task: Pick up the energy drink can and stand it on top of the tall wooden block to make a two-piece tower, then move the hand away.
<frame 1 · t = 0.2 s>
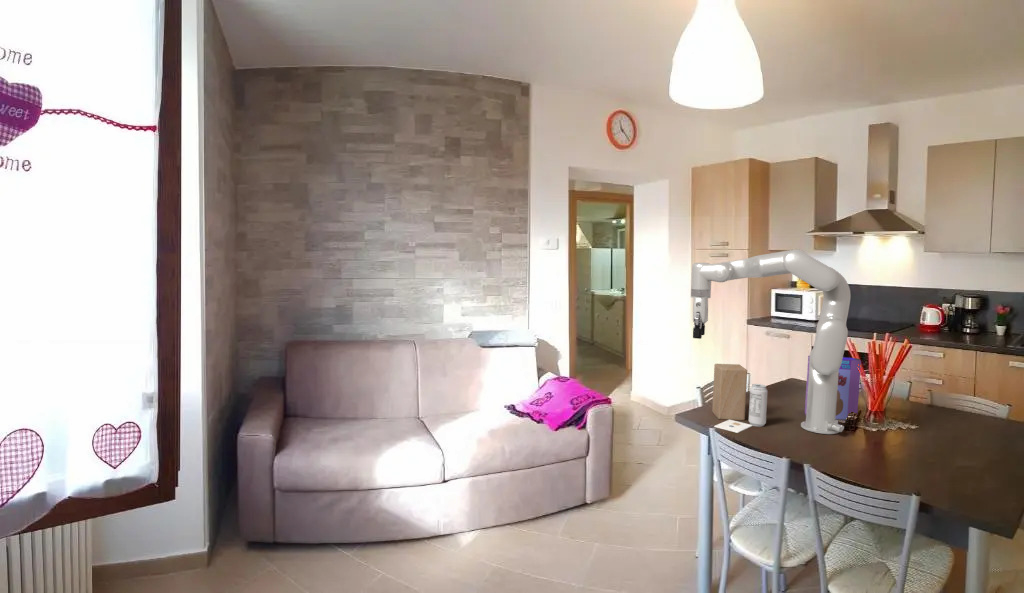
hand: (698, 336, 228), 31 cm above the table, tool pointing down, fingers open, 9 cm apart
energy drink can: (756, 424, 216), on the table
white printed card: (733, 426, 213), on the table
wooden block: (728, 416, 225), on the table
cereal box: (830, 417, 226), on the table
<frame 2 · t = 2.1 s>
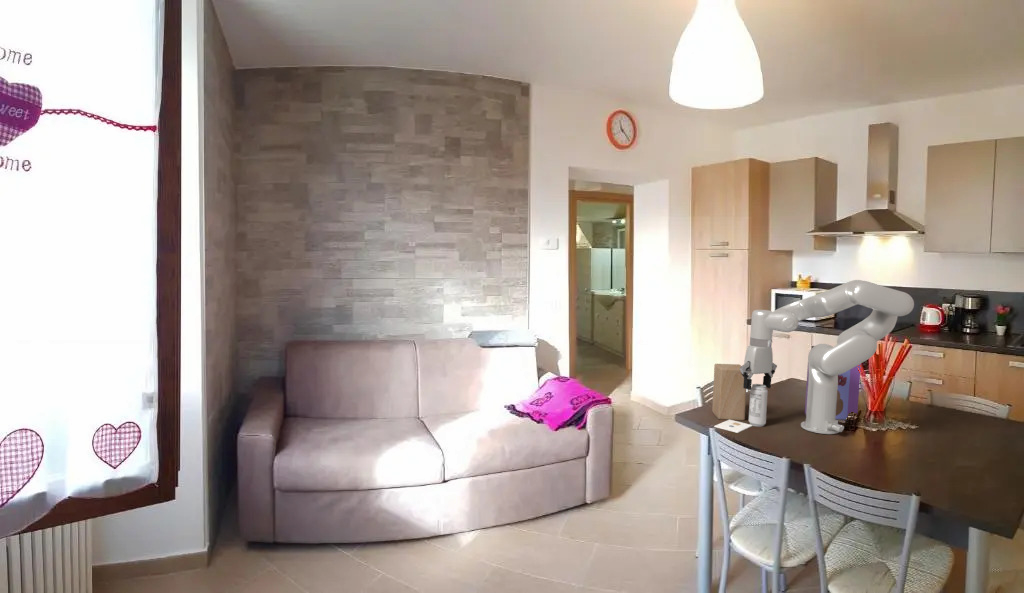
hand: (756, 388, 214), 14 cm above the table, tool pointing down, fingers open, 9 cm apart
nothing on the table moved.
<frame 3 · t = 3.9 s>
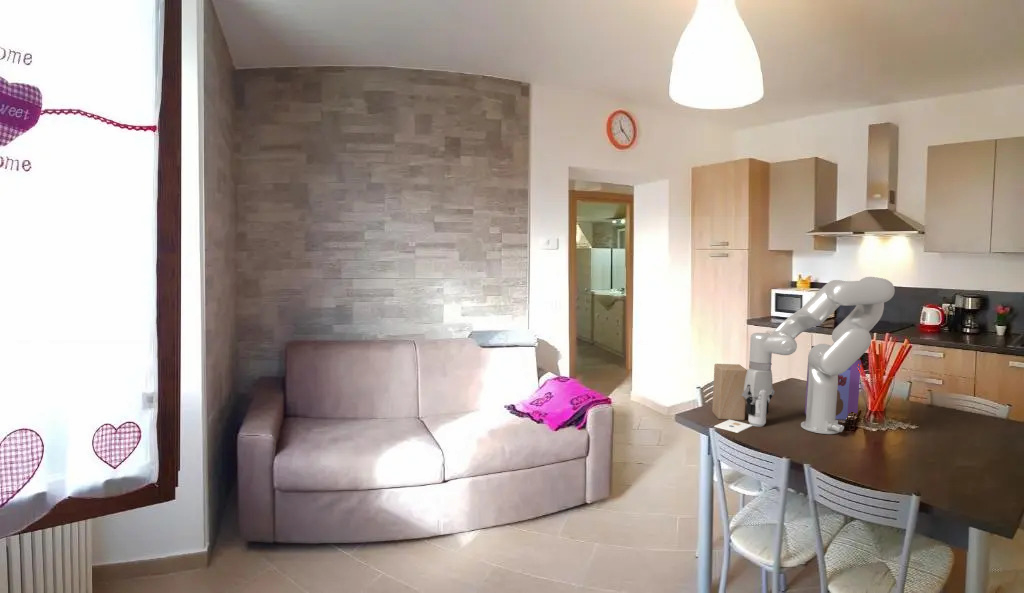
hand: (757, 412, 215), 5 cm above the table, tool pointing down, fingers closed on energy drink can, 6 cm apart
energy drink can: (756, 425, 216), on the table, touching gripper
everything else where it was.
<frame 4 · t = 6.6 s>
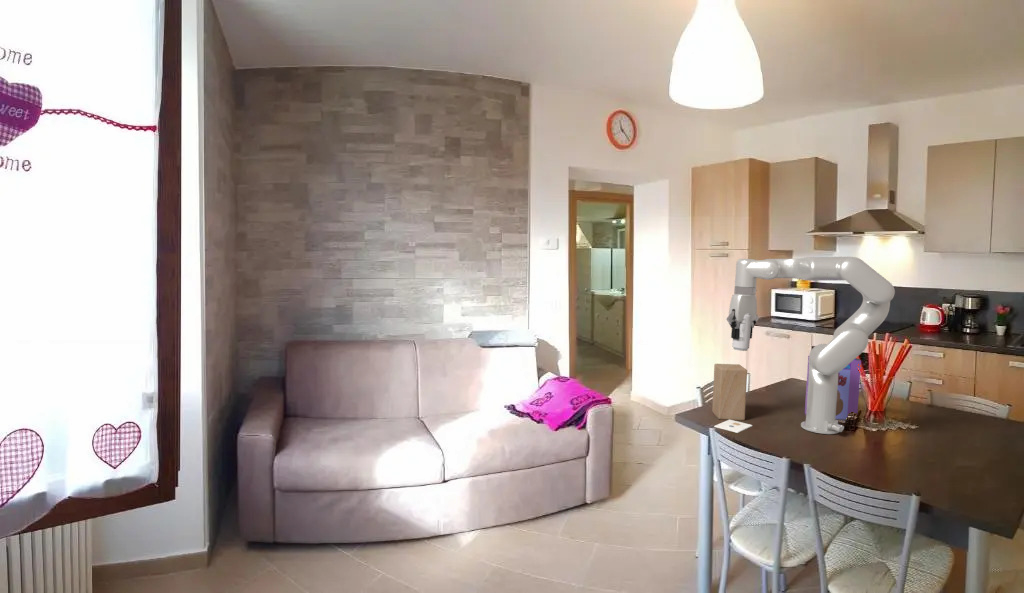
hand: (741, 337, 218), 32 cm above the table, tool pointing down, fingers closed on energy drink can, 6 cm apart
energy drink can: (740, 350, 219), point 27 cm above the table, touching gripper
everything else where it was.
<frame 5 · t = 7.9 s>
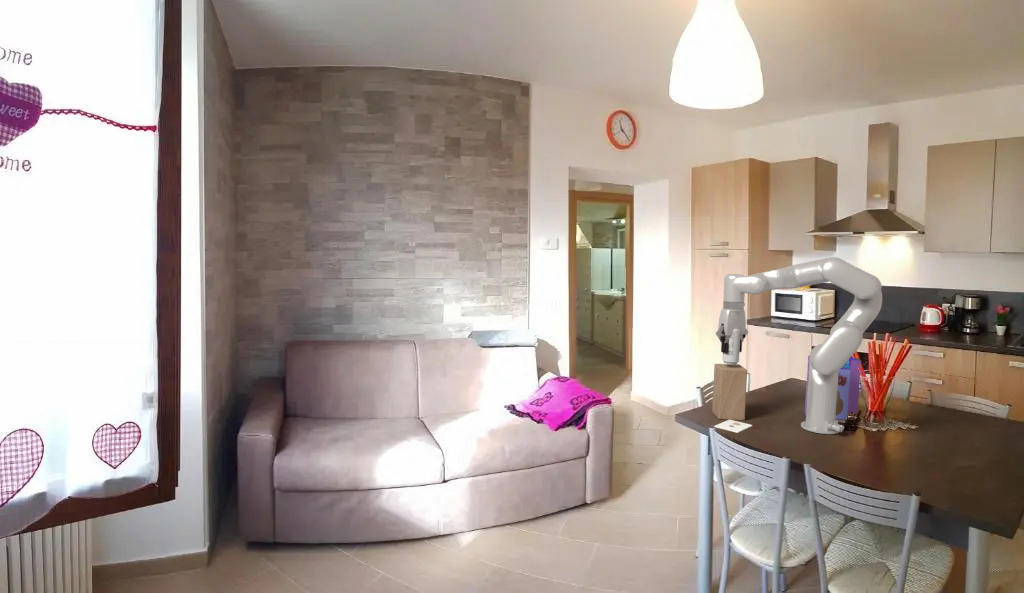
hand: (731, 351, 222), 26 cm above the table, tool pointing down, fingers closed on energy drink can, 6 cm apart
energy drink can: (730, 363, 223), point 21 cm above the table, touching gripper
everything else where it was.
when the fingers open (25 cm above the table, at t = 9.2 s): energy drink can stays where it is, resting on wooden block.
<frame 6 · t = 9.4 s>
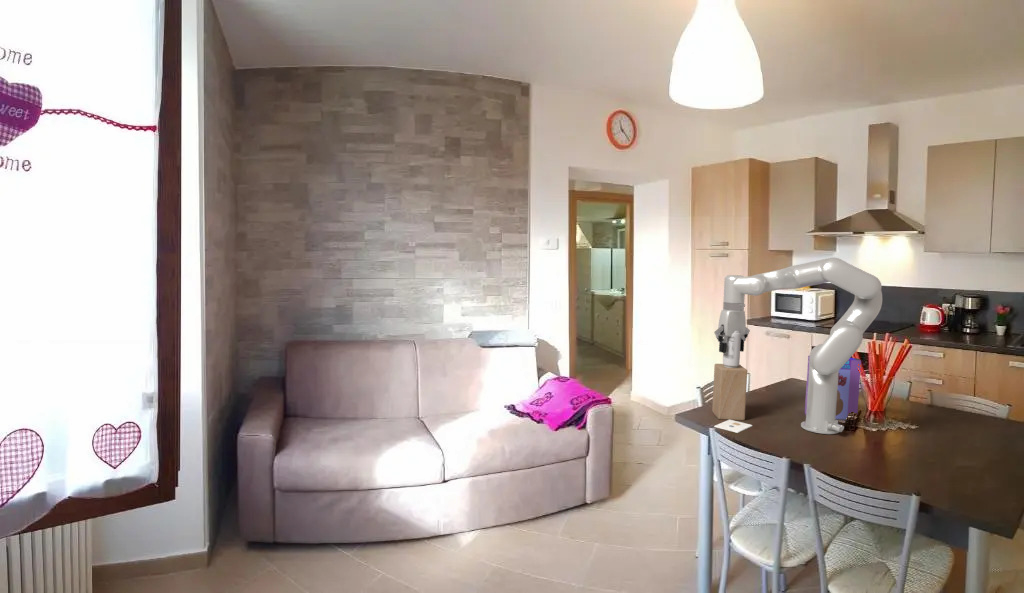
hand: (731, 351, 222), 26 cm above the table, tool pointing down, fingers open, 8 cm apart
energy drink can: (730, 367, 223), point 20 cm above the table, touching wooden block
wooden block: (728, 416, 225), on the table, touching energy drink can
everything else where it was.
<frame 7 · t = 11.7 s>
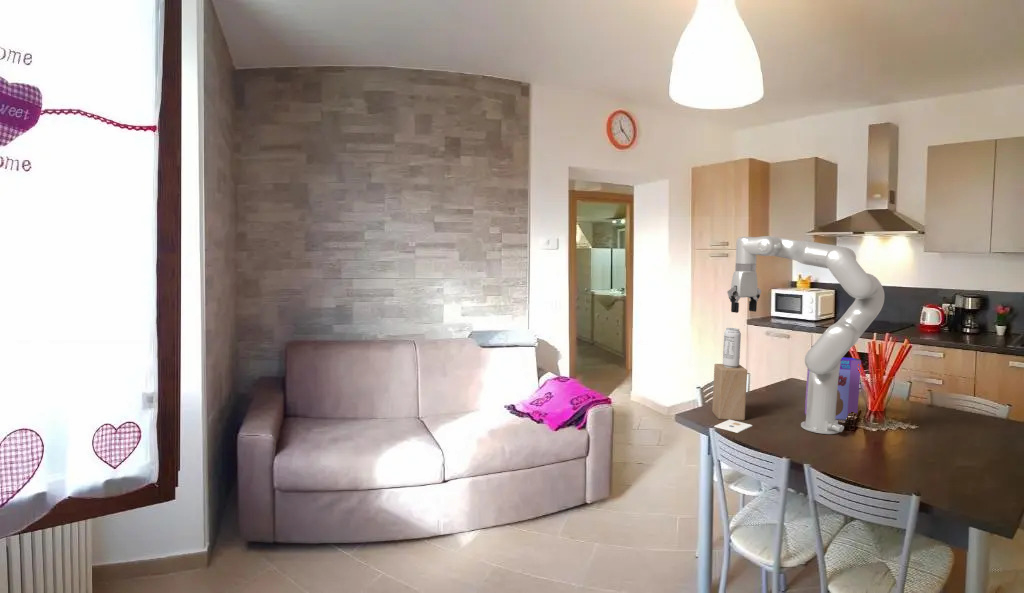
hand: (743, 311, 225), 41 cm above the table, tool pointing down, fingers open, 9 cm apart
nothing on the table moved.
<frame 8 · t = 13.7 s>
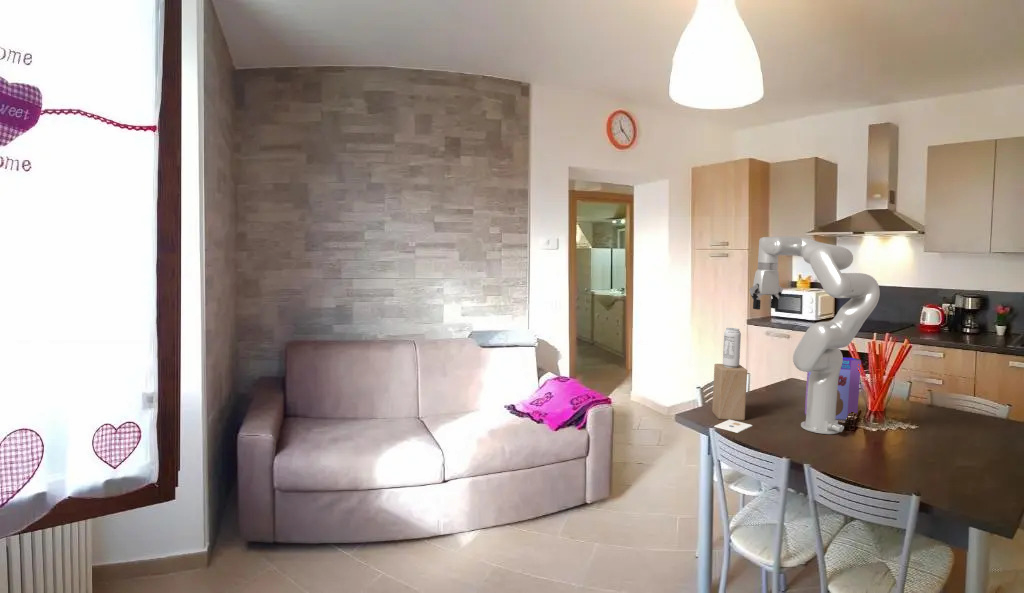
hand: (765, 308, 235), 41 cm above the table, tool pointing down, fingers open, 9 cm apart
nothing on the table moved.
at the end: energy drink can inside the target area on the wooden block (0.6 cm from its centre), point 20.0 cm above the wooden block's base; energy drink can tilted 0°; the gripper is holding nothing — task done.
